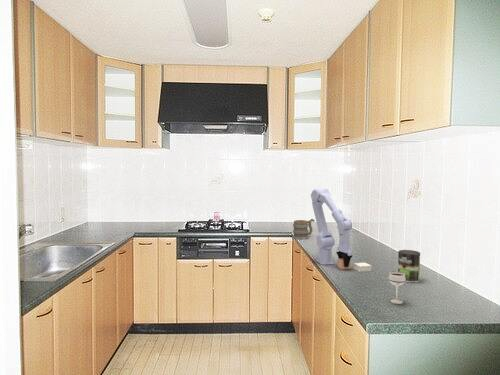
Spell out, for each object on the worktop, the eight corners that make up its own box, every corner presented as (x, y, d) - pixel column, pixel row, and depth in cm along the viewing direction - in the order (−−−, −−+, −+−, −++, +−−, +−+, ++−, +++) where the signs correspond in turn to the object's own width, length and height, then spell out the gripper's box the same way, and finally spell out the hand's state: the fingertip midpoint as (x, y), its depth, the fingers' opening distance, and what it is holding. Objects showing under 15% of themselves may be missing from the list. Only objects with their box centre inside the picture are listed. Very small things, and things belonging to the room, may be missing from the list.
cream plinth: (353, 268, 211) (353, 263, 210) (365, 267, 212) (365, 262, 212) (359, 271, 204) (359, 266, 204) (371, 271, 205) (371, 265, 205)
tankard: (297, 240, 295) (297, 221, 294) (289, 237, 306) (289, 219, 306) (319, 238, 303) (319, 219, 302) (310, 235, 314) (310, 217, 314)
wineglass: (400, 298, 162) (401, 271, 161) (408, 304, 155) (408, 275, 155) (385, 298, 162) (385, 271, 161) (392, 304, 155) (392, 275, 154)
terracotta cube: (338, 267, 213) (338, 258, 213) (346, 266, 214) (346, 258, 214) (341, 269, 208) (341, 260, 208) (350, 269, 209) (350, 260, 209)
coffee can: (413, 284, 182) (414, 255, 182) (393, 279, 190) (394, 251, 189) (423, 279, 189) (424, 252, 188) (404, 275, 197) (404, 248, 196)
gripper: (357, 243, 204) (356, 268, 205) (345, 238, 218) (345, 261, 219) (345, 244, 203) (344, 269, 203) (333, 239, 217) (333, 262, 218)
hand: (344, 265), depth 211 cm, fingers closed on terracotta cube, 5 cm apart
